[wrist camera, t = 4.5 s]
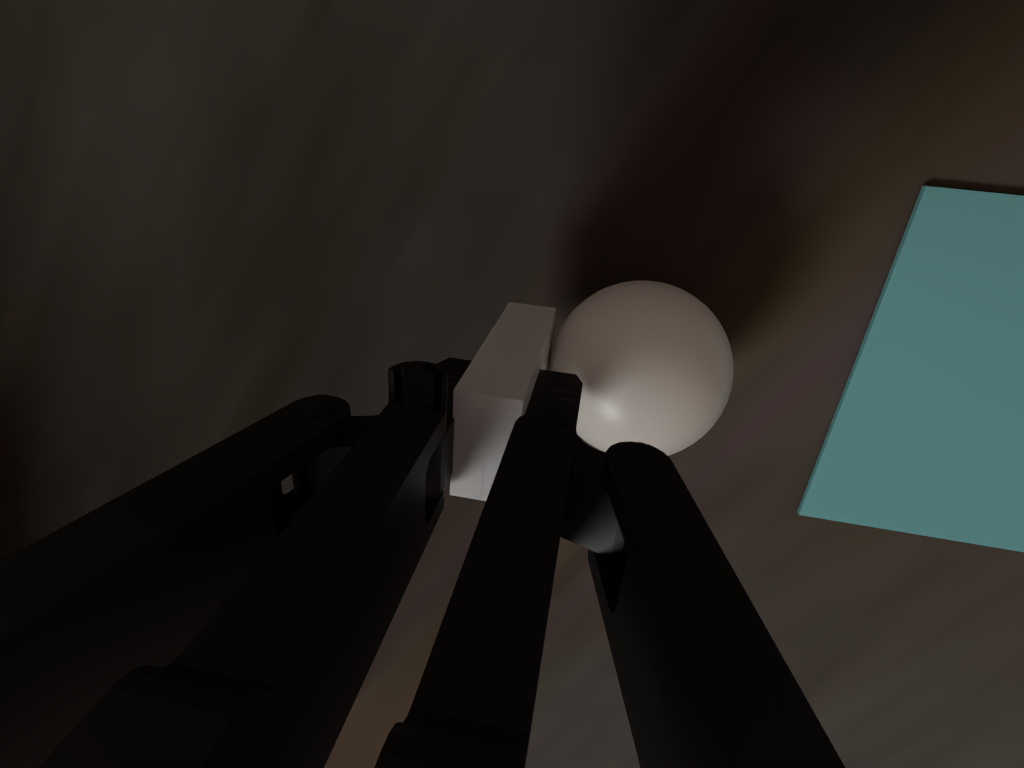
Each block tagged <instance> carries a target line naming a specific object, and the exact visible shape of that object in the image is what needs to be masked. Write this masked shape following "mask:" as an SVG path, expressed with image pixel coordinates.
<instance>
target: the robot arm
mask: <svg viewBox="0 0 1024 768" xmlns="http://www.w3.org/2000/svg"><path fill="white" fill-rule="evenodd" d="M555 313H556V308H551V307H543V306H535V305H528V304H520V303H512V302H509V303H508V305H507V307H506V308H505V310H504V311H503V313H502V315H501V316H500V318H499V319H498V321H497V322H496V324H495V326H494V327H493V329H492V330H491V332H490V333H489V335H488V337H487V338H486V340H485V341H484V343H483V345H482V346H481V348H480V349H479V351H478V352H477V354H476V356H475V357H474V359H473V360H472V361H470V360H463V359H456V358H448V359H446V360H443V361H441V362H439V363H437V364H434V363H430V362H422V361H411V362H403V363H400V364H396V365H394V366H392V367H391V368H389V369H388V383H389V403H388V405H387V406H386V407H385V408H384V409H383V411H382V412H381V413H380V414H379V415H374V416H351V414H350V405H349V404H348V403H347V401H345V400H343V399H341V398H339V397H334V396H330V395H314V396H311V397H305V398H302V399H300V400H297V401H294V402H292V403H291V404H289V405H287V406H285V407H283V408H281V409H280V410H278V411H276V412H274V413H272V414H270V415H269V416H267V417H265V418H263V419H261V420H259V421H257V422H256V423H254V424H252V425H250V426H248V427H246V428H245V429H243V430H241V431H239V432H237V433H235V434H234V435H232V436H230V437H228V438H226V439H224V440H222V441H221V442H219V443H217V444H215V445H213V446H211V447H210V448H208V449H206V450H204V451H202V452H200V453H198V454H197V455H195V456H193V457H191V458H189V459H187V460H186V461H184V462H182V463H180V464H178V465H176V466H175V467H173V468H171V469H169V470H167V471H165V472H163V473H162V474H160V475H158V476H156V477H154V478H152V479H151V480H149V481H147V482H145V483H143V484H141V485H140V486H138V487H136V488H134V489H132V490H130V491H128V492H127V493H125V494H123V495H121V496H119V497H117V498H116V499H114V500H112V501H110V502H108V503H106V504H104V505H103V506H101V507H99V508H97V509H95V510H93V511H92V512H90V513H88V514H86V515H84V516H82V517H81V518H79V519H77V520H75V521H73V522H71V523H69V524H68V525H66V526H64V527H62V528H60V529H58V530H57V531H55V532H53V533H51V534H49V535H47V536H46V537H44V538H42V539H40V540H38V541H36V542H34V543H33V544H31V545H29V546H27V547H25V548H23V549H22V550H20V551H18V552H16V553H14V554H12V555H10V556H9V557H7V558H5V559H3V560H1V561H0V768H324V766H325V764H326V762H327V760H328V758H329V756H330V753H331V751H332V749H333V747H334V745H335V743H336V740H337V738H338V736H339V734H340V732H341V729H342V727H343V725H344V723H345V721H346V719H347V716H348V714H349V712H350V710H351V708H352V706H353V703H354V701H355V699H356V697H357V695H358V693H359V690H360V688H361V686H362V684H363V682H364V680H365V677H366V675H367V673H368V671H369V669H370V666H371V664H372V662H373V660H374V658H375V656H376V653H377V651H378V649H379V647H380V645H381V643H382V640H383V638H384V636H385V634H386V632H387V630H388V627H389V625H390V623H391V621H392V619H393V617H394V614H395V612H396V610H397V608H398V606H399V603H400V601H401V599H402V597H403V595H404V593H405V590H406V588H407V586H408V584H409V582H410V580H411V577H412V575H413V573H414V571H415V569H416V567H417V564H418V562H419V560H420V558H421V556H422V553H423V551H424V549H425V547H426V545H427V543H428V540H429V538H430V536H431V534H432V532H433V530H434V527H435V525H436V523H437V521H438V519H439V517H440V514H441V512H442V510H443V508H444V497H445V487H446V485H447V483H448V481H449V479H450V495H454V496H460V497H465V498H471V499H477V500H482V501H486V503H485V506H484V508H483V511H482V514H481V517H480V519H479V522H478V525H477V528H476V530H475V533H474V536H473V538H472V541H471V544H470V547H469V549H468V552H467V555H466V558H465V560H464V563H463V566H462V569H461V571H460V574H459V577H458V580H457V582H456V585H455V588H454V591H453V593H452V596H451V599H450V602H449V604H448V607H447V610H446V613H445V615H444V618H443V621H442V624H441V626H440V629H439V632H438V635H437V637H436V640H435V643H434V645H433V648H432V651H431V654H430V656H429V659H428V662H427V665H426V667H425V670H424V673H423V676H422V678H421V681H420V684H419V687H418V689H417V692H416V695H415V698H414V700H413V703H412V706H411V708H410V711H409V713H408V715H407V717H406V719H405V720H404V722H399V723H396V724H395V725H394V726H393V728H392V729H391V731H390V732H389V734H388V737H387V739H386V741H385V743H384V745H383V748H382V750H381V752H380V755H379V757H378V760H377V763H376V765H375V768H525V764H526V758H527V751H528V744H529V738H530V731H531V725H532V718H533V712H534V705H535V699H536V692H537V685H538V679H539V672H540V666H541V659H542V653H543V646H544V639H545V633H546V626H547V620H548V613H549V607H550V600H551V594H552V587H553V580H554V574H555V567H556V561H557V555H558V548H559V542H560V537H562V538H564V539H567V540H569V541H571V542H574V543H576V544H578V545H580V546H583V547H585V548H587V549H588V562H589V566H590V569H591V573H592V577H593V581H594V585H595V589H596V593H597V597H598V601H599V605H600V609H601V613H602V617H603V621H604V625H605V629H606V633H607V637H608V641H609V645H610V648H611V652H612V656H613V660H614V664H615V668H616V672H617V676H618V680H619V684H620V688H621V692H622V696H623V700H624V704H625V708H626V712H627V716H628V720H629V724H630V727H631V731H632V735H633V739H634V743H635V747H636V751H637V755H638V759H639V763H640V767H641V768H845V766H844V765H843V763H842V761H841V759H840V758H839V756H838V754H837V752H836V751H835V749H834V747H833V745H832V743H831V742H830V740H829V738H828V736H827V735H826V733H825V731H824V729H823V728H822V726H821V724H820V722H819V720H818V719H817V717H816V715H815V713H814V712H813V710H812V708H811V706H810V705H809V703H808V701H807V699H806V697H805V696H804V694H803V692H802V690H801V689H800V687H799V685H798V683H797V682H796V680H795V678H794V676H793V675H792V673H791V671H790V669H789V667H788V666H787V664H786V662H785V660H784V659H783V657H782V655H781V653H780V652H779V650H778V648H777V646H776V644H775V643H774V641H773V639H772V637H771V636H770V634H769V632H768V630H767V629H766V627H765V625H764V623H763V621H762V620H761V618H760V616H759V614H758V613H757V611H756V609H755V607H754V606H753V604H752V602H751V600H750V599H749V597H748V595H747V593H746V591H745V590H744V588H743V586H742V584H741V583H740V581H739V579H738V577H737V576H736V574H735V572H734V570H733V568H732V567H731V565H730V563H729V561H728V560H727V558H726V556H725V554H724V553H723V551H722V549H721V547H720V545H719V544H718V542H717V540H716V538H715V537H714V535H713V533H712V531H711V530H710V528H709V526H708V524H707V523H706V521H705V519H704V517H703V515H702V514H701V512H700V510H699V508H698V507H697V505H696V503H695V501H694V500H693V498H692V496H691V494H690V492H689V491H688V489H687V487H686V485H685V484H684V482H683V480H682V478H681V477H680V475H679V473H678V471H677V469H676V468H675V466H674V464H673V462H672V461H671V459H670V458H669V457H668V456H667V455H666V454H665V453H664V452H662V451H661V450H659V449H657V448H656V447H654V446H651V445H649V444H648V445H647V444H646V443H642V442H632V441H628V442H618V443H616V444H613V445H611V446H610V447H609V448H608V449H607V451H606V453H604V452H601V451H599V450H596V449H594V448H592V447H590V446H588V445H587V444H585V443H584V442H583V441H582V440H581V439H580V438H579V437H578V435H577V432H576V427H577V420H578V413H579V406H580V400H581V393H582V386H583V383H582V382H581V380H580V379H579V377H578V376H577V375H576V374H570V373H563V372H556V371H549V365H550V356H551V348H552V339H553V331H554V322H555ZM291 474H292V477H293V485H294V489H293V490H291V491H290V492H289V493H287V494H284V495H283V493H282V487H281V482H282V481H283V480H284V479H285V478H286V477H288V476H289V475H291Z"/></svg>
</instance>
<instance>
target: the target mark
mask: <svg viewBox="0 0 1024 768" xmlns="http://www.w3.org/2000/svg"><path fill="white" fill-rule="evenodd" d="M797 512H798V514H799V515H804V516H810V517H816V518H822V519H828V520H834V521H840V522H846V523H852V524H858V525H864V526H870V527H876V528H882V529H888V530H894V531H900V532H906V533H912V534H918V535H924V536H930V537H936V538H942V539H948V540H954V541H960V542H966V543H972V544H978V545H984V546H990V547H996V548H1002V549H1008V550H1014V551H1020V552H1024V196H1023V195H1013V194H1003V193H993V192H983V191H973V190H963V189H953V188H943V187H933V186H922V188H921V191H920V193H919V196H918V199H917V201H916V204H915V206H914V209H913V212H912V214H911V217H910V219H909V222H908V225H907V227H906V230H905V232H904V235H903V238H902V240H901V243H900V245H899V248H898V251H897V253H896V256H895V258H894V261H893V264H892V266H891V269H890V271H889V274H888V277H887V279H886V282H885V284H884V287H883V290H882V292H881V295H880V297H879V300H878V303H877V305H876V308H875V310H874V313H873V316H872V318H871V321H870V324H869V326H868V329H867V331H866V334H865V337H864V339H863V342H862V344H861V347H860V350H859V352H858V355H857V357H856V360H855V363H854V365H853V368H852V370H851V373H850V376H849V378H848V381H847V383H846V386H845V389H844V391H843V394H842V396H841V399H840V402H839V404H838V407H837V409H836V412H835V415H834V417H833V420H832V422H831V425H830V428H829V430H828V433H827V435H826V438H825V441H824V443H823V446H822V448H821V451H820V454H819V456H818V459H817V461H816V464H815V467H814V469H813V472H812V474H811V477H810V480H809V482H808V485H807V487H806V490H805V493H804V495H803V498H802V501H801V503H800V506H799V508H798V511H797Z"/></svg>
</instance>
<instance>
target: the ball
mask: <svg viewBox="0 0 1024 768" xmlns="http://www.w3.org/2000/svg"><path fill="white" fill-rule="evenodd" d="M550 371H556V372H563V373H570V374H576V375H577V376H578V377H579V379H580V380H581V382H582V383H583V386H582V393H581V400H580V406H579V413H578V420H577V427H576V432H577V434H578V435H579V436H580V437H581V438H582V439H584V440H585V441H586V442H587V443H589V444H591V445H592V446H594V447H596V448H597V449H599V450H602V451H604V452H606V451H607V449H608V448H609V447H610V446H611V445H613V444H616V443H618V442H628V441H632V442H642V443H646V444H647V445H648V444H649V445H651V446H654V447H656V448H657V449H659V450H661V451H662V452H664V453H665V454H666V455H667V456H668V455H671V454H674V453H676V452H679V451H681V450H683V449H685V448H687V447H688V446H690V445H692V444H694V443H695V442H696V441H698V440H699V439H700V438H701V437H703V436H704V435H705V434H706V433H707V432H708V431H709V430H710V429H711V428H712V427H713V425H714V424H715V423H716V421H717V420H718V419H719V417H720V415H721V414H722V412H723V410H724V408H725V406H726V404H727V402H728V399H729V396H730V392H731V389H732V382H733V374H734V371H733V357H732V351H731V347H730V344H729V341H728V338H727V335H726V333H725V331H724V329H723V327H722V325H721V323H720V322H719V321H718V319H717V318H716V316H715V315H714V314H713V313H712V311H711V310H710V309H709V308H708V307H707V306H706V305H705V304H703V303H702V302H701V301H700V300H699V299H697V298H696V297H695V296H693V295H691V294H690V293H688V292H686V291H685V290H683V289H680V288H678V287H676V286H673V285H670V284H666V283H662V282H656V281H628V282H622V283H619V284H615V285H612V286H609V287H606V288H604V289H602V290H599V291H598V292H596V293H594V294H593V295H591V296H590V297H588V298H586V299H585V300H584V301H583V302H582V303H581V304H579V305H578V306H577V307H576V308H575V309H574V310H573V311H572V313H571V314H570V315H569V316H568V317H567V319H566V320H565V322H564V323H563V325H562V327H561V329H560V330H559V332H558V334H557V337H556V339H555V342H554V345H553V348H552V353H551V359H550Z"/></svg>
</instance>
